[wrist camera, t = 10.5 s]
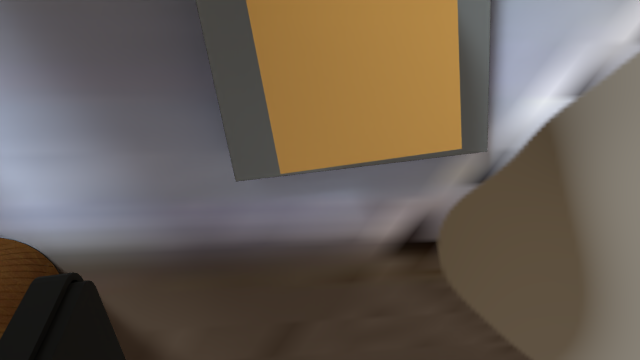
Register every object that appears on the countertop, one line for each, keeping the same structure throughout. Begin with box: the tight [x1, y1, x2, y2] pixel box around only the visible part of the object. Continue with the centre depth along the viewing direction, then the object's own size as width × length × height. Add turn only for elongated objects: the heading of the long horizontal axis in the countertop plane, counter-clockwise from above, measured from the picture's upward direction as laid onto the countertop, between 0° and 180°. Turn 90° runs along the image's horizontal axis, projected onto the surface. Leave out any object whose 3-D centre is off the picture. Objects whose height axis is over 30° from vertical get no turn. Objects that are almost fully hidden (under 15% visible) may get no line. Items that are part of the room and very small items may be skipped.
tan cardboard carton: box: [246, 0, 462, 174], centre depth 21 cm, size 6×6×5 cm
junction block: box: [196, 0, 491, 181], centre depth 23 cm, size 15×12×10 cm
